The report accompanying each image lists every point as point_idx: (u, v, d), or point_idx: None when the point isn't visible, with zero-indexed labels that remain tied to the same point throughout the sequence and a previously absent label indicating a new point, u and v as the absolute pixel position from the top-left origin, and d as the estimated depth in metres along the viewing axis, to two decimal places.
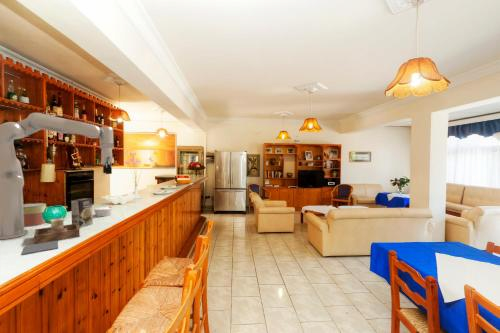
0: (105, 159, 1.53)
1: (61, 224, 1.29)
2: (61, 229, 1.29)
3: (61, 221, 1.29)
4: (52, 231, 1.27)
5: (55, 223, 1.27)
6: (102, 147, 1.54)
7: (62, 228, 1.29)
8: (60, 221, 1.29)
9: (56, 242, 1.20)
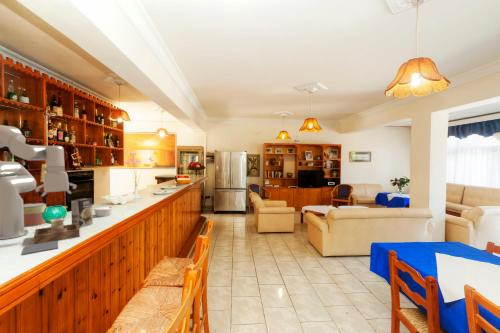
0: (68, 184, 1.31)
1: (61, 224, 1.29)
2: (61, 229, 1.29)
3: (61, 221, 1.29)
4: (52, 231, 1.27)
5: (55, 223, 1.27)
6: (62, 171, 1.28)
7: (62, 228, 1.29)
8: (60, 221, 1.29)
9: (56, 242, 1.20)
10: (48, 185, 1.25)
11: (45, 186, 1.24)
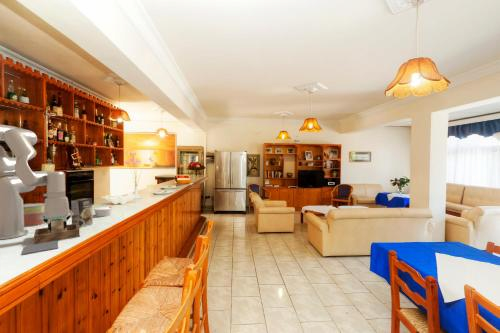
0: (68, 209, 1.31)
1: (61, 224, 1.29)
2: (61, 229, 1.29)
3: (61, 221, 1.29)
4: (52, 231, 1.27)
5: (55, 223, 1.27)
6: (62, 196, 1.29)
7: (62, 228, 1.29)
8: (60, 221, 1.29)
9: (56, 242, 1.20)
10: (48, 211, 1.25)
11: (45, 212, 1.25)
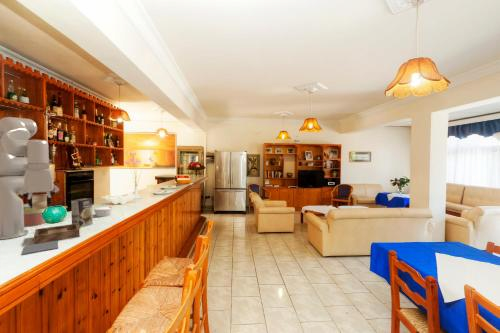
0: (53, 184, 1.15)
1: (44, 200, 1.13)
2: (44, 206, 1.13)
3: (44, 197, 1.13)
4: (33, 208, 1.10)
5: (37, 199, 1.11)
6: (45, 168, 1.12)
7: (45, 205, 1.13)
8: (43, 197, 1.12)
9: (56, 242, 1.20)
10: (29, 185, 1.09)
11: (25, 186, 1.09)
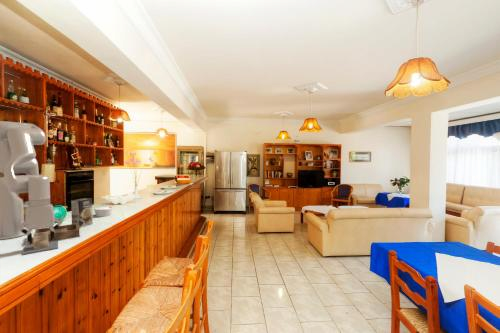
0: (54, 219, 1.16)
1: (45, 239, 1.13)
2: (45, 245, 1.14)
3: (45, 235, 1.13)
4: (35, 247, 1.11)
5: (38, 238, 1.12)
6: (46, 204, 1.13)
7: (46, 243, 1.14)
8: (44, 235, 1.13)
9: (56, 242, 1.20)
10: (30, 221, 1.10)
11: (27, 223, 1.09)
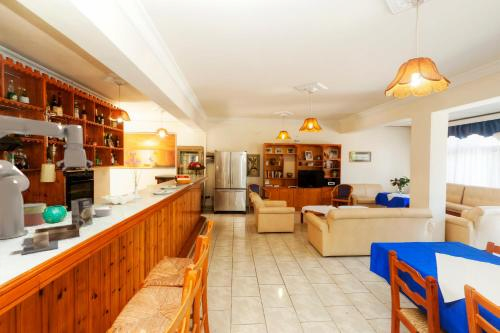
0: (86, 161, 1.43)
1: (45, 239, 1.13)
2: (45, 245, 1.14)
3: (45, 235, 1.13)
4: (35, 247, 1.11)
5: (38, 238, 1.12)
6: (80, 148, 1.40)
7: (46, 243, 1.14)
8: (44, 235, 1.13)
9: (56, 242, 1.20)
10: (68, 160, 1.37)
11: (66, 161, 1.36)
